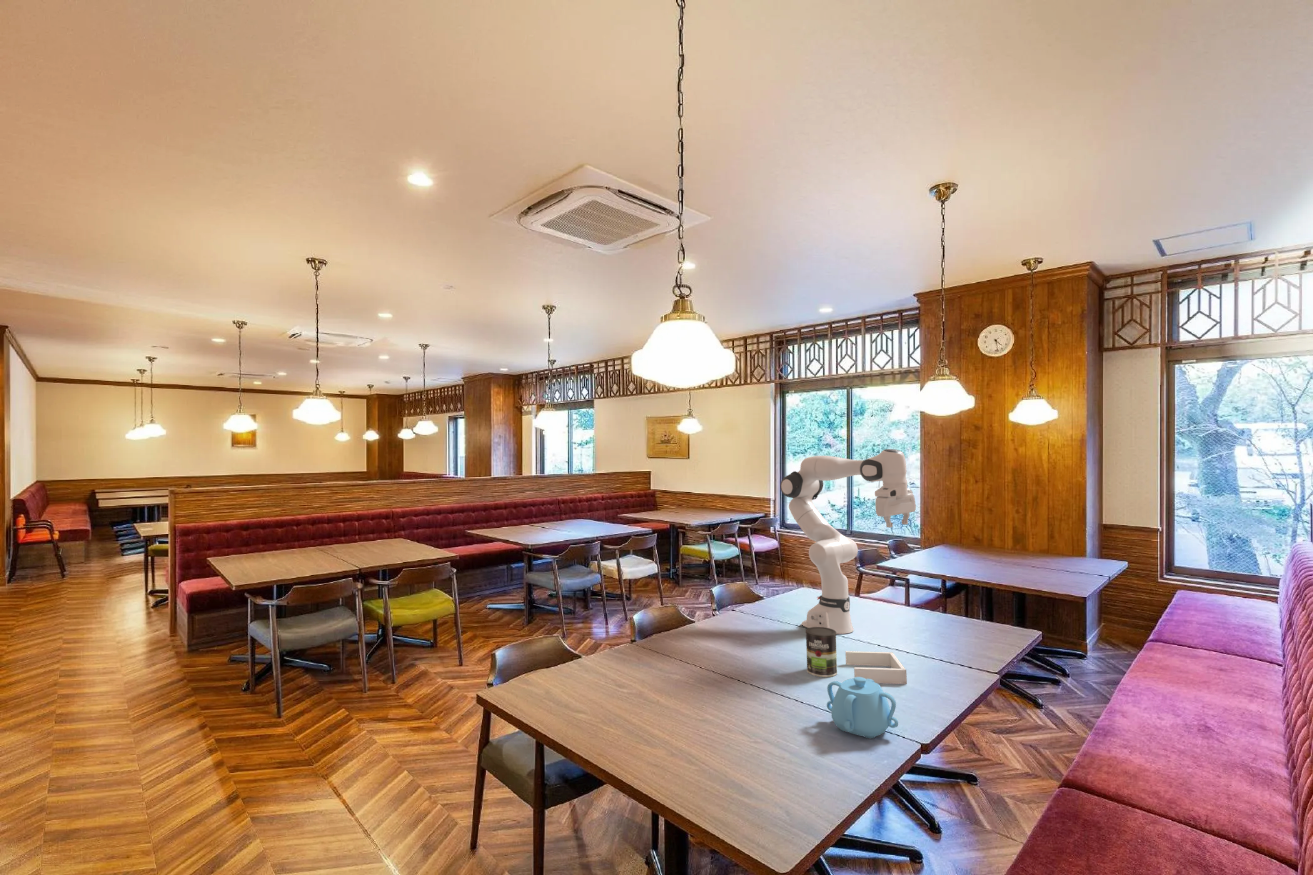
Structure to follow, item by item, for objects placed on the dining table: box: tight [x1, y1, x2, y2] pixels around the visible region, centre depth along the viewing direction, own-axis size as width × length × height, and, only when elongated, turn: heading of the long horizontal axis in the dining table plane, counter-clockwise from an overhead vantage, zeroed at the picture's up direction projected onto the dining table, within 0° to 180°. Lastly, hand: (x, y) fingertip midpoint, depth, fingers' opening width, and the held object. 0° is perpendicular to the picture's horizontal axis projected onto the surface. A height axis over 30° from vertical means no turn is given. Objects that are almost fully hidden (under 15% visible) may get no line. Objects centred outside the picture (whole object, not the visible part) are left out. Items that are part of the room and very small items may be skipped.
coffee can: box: [805, 627, 838, 678], centre depth 199 cm, size 10×10×14 cm
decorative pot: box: [826, 677, 899, 739], centre depth 157 cm, size 16×16×14 cm
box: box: [845, 650, 908, 685], centre depth 196 cm, size 16×17×4 cm
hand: (897, 525), depth 223 cm, fingers open, 8 cm apart
